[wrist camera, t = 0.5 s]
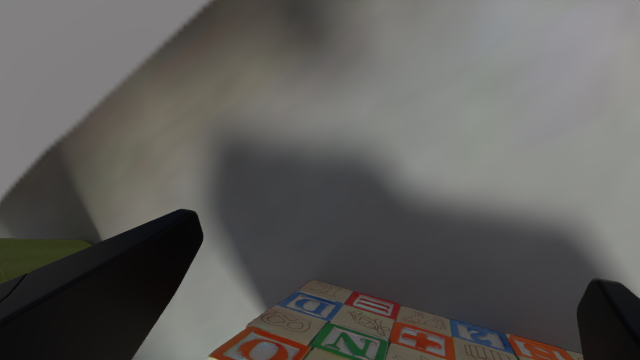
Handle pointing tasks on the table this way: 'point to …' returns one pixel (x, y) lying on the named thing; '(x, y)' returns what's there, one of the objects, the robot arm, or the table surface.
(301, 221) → the table surface
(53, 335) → the robot arm
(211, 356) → the stack of blocks
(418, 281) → the table surface
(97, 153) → the table surface
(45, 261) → the plant pot
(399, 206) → the table surface
